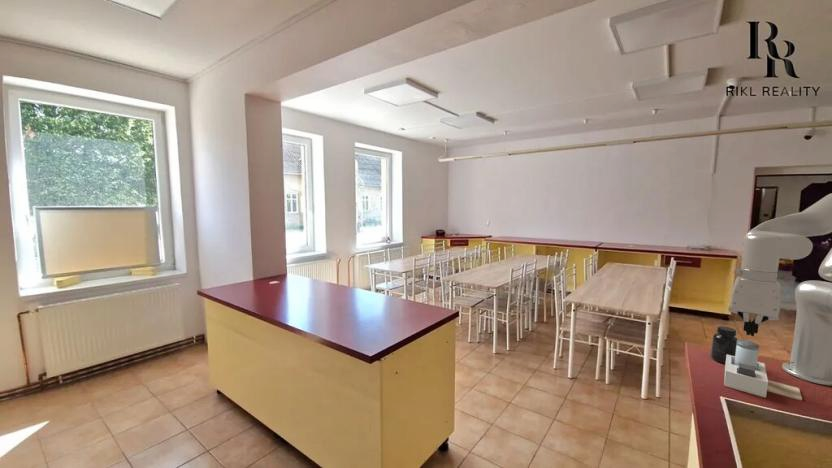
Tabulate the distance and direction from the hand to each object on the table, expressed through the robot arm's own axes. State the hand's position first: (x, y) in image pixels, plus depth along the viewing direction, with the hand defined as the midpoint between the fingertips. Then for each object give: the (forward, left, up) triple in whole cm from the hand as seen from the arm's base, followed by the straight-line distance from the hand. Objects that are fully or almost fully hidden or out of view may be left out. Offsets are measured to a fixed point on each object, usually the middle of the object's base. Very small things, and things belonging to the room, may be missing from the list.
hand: (749, 334), depth 99 cm
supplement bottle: (-18, -5, -18) cm, 26 cm away
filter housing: (-5, 0, -18) cm, 18 cm away
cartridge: (-8, 0, -18) cm, 19 cm away
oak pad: (-6, +9, -18) cm, 21 cm away
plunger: (0, 0, -14) cm, 14 cm away
